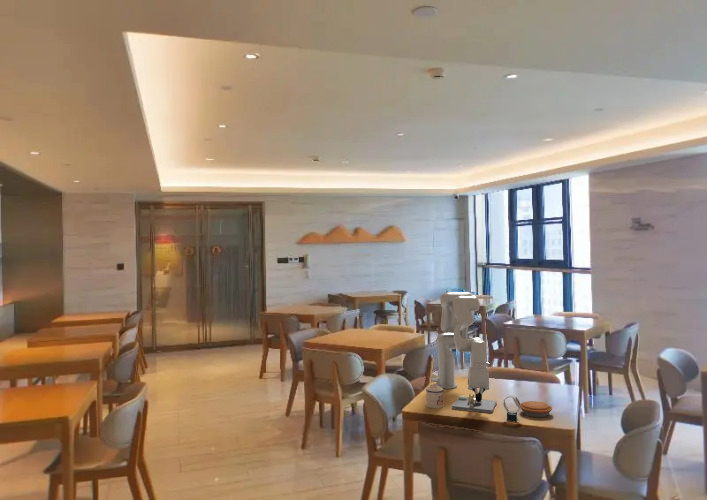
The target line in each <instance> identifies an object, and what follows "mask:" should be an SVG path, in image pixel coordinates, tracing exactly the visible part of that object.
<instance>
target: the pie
mask: <svg viewBox="0 0 707 500" xmlns="http://www.w3.org/2000/svg"><path fill="white" fill-rule="evenodd" d="M520 404H521V407H520V409H521V412H522V414H524V415H526V416H528V417H532V418H546V417H547V416H549V414H550V412H552V410H553V407H552V406H551V405H549V404H547V403H546V402H541V401H533V400H532V401H531V400H530V401H523V402H520Z"/></svg>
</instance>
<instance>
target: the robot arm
mask: <svg viewBox="0 0 707 500" xmlns="http://www.w3.org/2000/svg"><path fill="white" fill-rule="evenodd" d="M439 303H440V305H441V316H440V317H441V319H440V330H441V331H442V333H439V334H438V335H437V336H436V345H437V357H438V358H437V359H438V360H437V363H438V372H437V373H438V374H437V375H438V376H437V378H436V377H435V378H434V377H432V378H431V382H432V383H435V384H437V386H439V387H441V388H443V389H447V390H448V389H451V390H453V389H456V388H457V387H458V384H457V383H455V380H456V379H455V355H454V353H453V352H452V351H451V350H457V351H458V352H459V353H470V366H469V367H468V373H467V390H468V391H469V390H470V391H473V392H474V396H475V400H476V401H477V402H481V400H482V399H483V393H484V392H485V391H488V390H490V376H489V370H488V367H487V366H489V365H490V363H489V362H487V343H486V341H485V340H484V339H482V338H480V337H468V331H469V327H470V326H471V325H472V324H474V322H475V321H474V315H473V313H472V312H478V311H479V310H480V306H481V303H480V300H479V298H478V297H477V296H476V295H475V294H472V293H471V292H467V291H465V292H461V291H460V292H459V291H458V292H457V291H455V292H452V291H449V292H444V293H442V294H441V295H440V298H439ZM478 389H479V390H478Z"/></svg>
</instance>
